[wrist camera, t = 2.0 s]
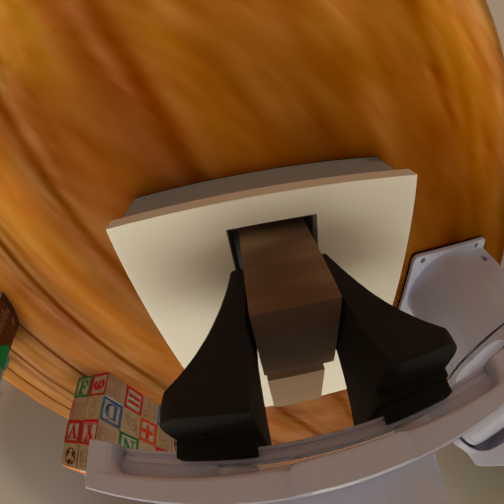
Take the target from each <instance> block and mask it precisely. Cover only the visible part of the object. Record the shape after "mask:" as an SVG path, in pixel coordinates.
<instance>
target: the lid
mask: <svg viewBox="0 0 504 504" xmlns="http://www.w3.org/2000/svg"><path fill="white" fill-rule="evenodd" d="M416 184H417V174H416V173H414V172H413V171H411V170H410V169H400V170H388V171H378V172H368V173H359V174H350V175H342V176H334V177H326V178H319V179H312V180H305V181H298V182H291V183H285V184H279V185H273V186H267V187H261V188H255V189H250V190H244V191H239V192H234V193H229V194H224V195H219V196H214V197H209V198H204V199H199V200H195V201H190V202H186V203H181V204H177V205H172V206H168V207H164V208H160V209H156V210H151V211H147V212H143V213H139V214H136V215H132V216H128V217H124V218H120V219H117V220H113V221H111V222H110V224H109V225H108V227H107V228H106V231H107V234H108V236H109V238H110V240H111V242H112V244H113V247H114V249H115V251H116V253H117V255H118V257H119V259H120V261H121V263H122V265H123V267H124V269H125V271H126V273H127V275H128V277H129V278H130V280H131V282H132V284H133V286H134V288H135V290H136V291H137V293H138V295H139V297H140V299H141V300H142V302H143V304H144V306H145V307H146V309H147V311H148V313H149V314H150V316H151V318H152V319H153V321H154V323H155V324H156V326H157V328H158V329H159V331H160V333H161V334H162V336H163V337H164V339H165V340H166V342H167V344H168V345H169V347H170V348H171V350H172V351H173V353H174V354H175V356H176V357H177V359H178V360H179V362H180V363H181V365H182V366H183V368H184V369H185V368H186V367H187V365H188V364H189V363H190V362H191V360H192V359H193V358H194V356H195V355H196V353H197V352H198V350H199V348H200V347H201V345H202V344H203V342H204V340H205V339H206V337H207V335H208V333H209V331H210V329H211V327H212V325H213V323H214V321H215V319H216V317H217V314H218V312H219V310H220V307H221V304H222V302H223V299H224V296H225V293H226V290H227V286H228V282H229V278H230V273H231V272H232V271H235V270H237V267H236V263H235V259H234V255H233V251H232V246H231V242H230V238H229V234H228V230H229V229H235V228H240V227H245V226H251V225H256V224H262V223H267V222H273V221H278V220H284V219H290V218H295V217H301V216H307V215H312V218H313V238H314V240H315V242H316V244H317V246H318V248H319V250H320V252H321V254H324V253H325V254H327V255H328V256H329V257H330V258H331V259H332V260H333V261H334V262H335V263H337V264H338V265H339V266H340V267H341V268H342V269H343V270H344V271H345V272H347V273H348V274H349V275H350V276H351V277H353V278H354V279H355V280H356V281H357V282H359V283H360V284H361V285H362V286H364V287H365V288H366V289H368V290H369V291H370V292H372V293H373V294H374V295H376V296H378V297H379V298H381V299H382V300H384V301H385V302H387V303H389V304H390V305H393V302H394V298H395V294H396V291H397V287H398V283H399V279H400V275H401V271H402V267H403V262H404V258H405V253H406V248H407V243H408V238H409V233H410V227H411V221H412V215H413V208H414V201H415V193H416ZM257 350H258V349H257ZM258 365H259V373H260V380H261V386H262V392H263V398H264V404H265V407H267V406H273V405H274V407H279V406H285V405H290V404H295V403H300V402H304V401H309V400H313V399H318V398H321V395H325V394H329V393H333V392H337V391H340V390H344V389H347V387H346V383H345V379H344V375H343V371H342V368H341V364H340V361H339V357H338V354H337V351H335V357H334V361H331V362H327V363H323V364H319V365H315V366H311V367H306V368H302V369H297V370H292V371H287V372H282V373H277V374H271V375H265V376H264V372H263V368H262V365H261V361H260V357H259V353H258Z"/></svg>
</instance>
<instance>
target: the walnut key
mask: <svg viewBox="0 0 504 504" xmlns="http://www.w3.org/2000/svg"><path fill="white" fill-rule="evenodd" d="M238 229H239V238H240V247H241V255H242V263H243V272H244V280H245V288H246V296H247V304H248V312H249V318H250V322H251V326H252V330H253V334H254V338H255V341H256V345H257V349H258V353H259V357H260V361H261V365H262V368H263V372H264V376H265V375H271V374H277V373H282V372H287V371H292V370H297V369H302V368H306V367H311V366H315V365H319V364H323V363H327V362H331V361H334V357H335V351H336V344H337V337H338V330H339V322H340V314H341V305H342V295H341V293H340V291H339V289H338V286H337V284H336V282H335V280H334V278H333V276H332V274H331V272H330V270H329V268H328V266H327V264H326V262H325V260H324V258H323V256H322V254H321V252H320V250H319V248H318V246H317V244H316V242H315V240H314V238H313V237H312V235H311V233H310V231H309V229H308V227H307V225H306V223H305V221H304V220H303V218H302V216H301V217H295V218H290V219H284V220H278V221H273V222H267V223H262V224H256V225H251V226H245V227H240V228H238Z"/></svg>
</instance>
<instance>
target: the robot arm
mask: <svg viewBox="0 0 504 504" xmlns="http://www.w3.org/2000/svg"><path fill="white" fill-rule="evenodd" d="M484 243H485V239H484V238H483V237H480V238H476V239H472V240H469V241H465V242H462V243H458V244H454V245H451V246H447V247H443V248H439V249H435V250H432V251H428V252H424V253H420V254H416V255H415V256H414V257H413V258H412V260H411V264H410V268H409V272H408V276H407V280H406V283H405V287H404V290H403V294H402V297H401V301H400V304H399V307H398V308H396V307H394V306H392V305H390V304H389V303H387V302H385V301H384V300H382V299H381V298H379V297H378V296H376V295H374V294H373V293H372V292H370V291H369V290H368V289H366V288H365V287H364V286H362V285H361V284H360V283H359V282H357V281H356V280H355V279H354V278H353V277H351V276H350V275H349V274H348V273H347V272H345V271H344V270H343V269H342V268H341V267H340V266H339V265H338V264H337V263H335V262H334V261H333V260H332V259H331V258H330V257H329V256H328V255H327V254H325V253H324V254H322V256H323V258H324V260H325V262H326V264H327V266H328V268H329V270H330V272H331V274H332V276H333V278H334V280H335V282H336V284H337V286H338V289H339V291H340V293H341V295H342V305H341V314H340V322H339V330H338V337H337V344H336V351H337V354H338V357H339V361H340V364H341V368H342V371H343V375H344V379H345V383H346V387H347V392H348V396H349V401H350V405H351V411H352V416H353V421H354V426H353V427H349V428H346V429H343V430H339V431H335V432H332V433H328V434H324V435H320V436H316V437H311V438H307V439H302V440H297V441H292V442H287V443H281V444H275V445H272V444H271V439H270V433H269V428H268V422H267V416H266V410H265V404H264V398H263V392H262V386H261V380H260V373H259V365H258V350H257V345H256V341H255V338H254V334H253V330H252V326H251V322H250V318H249V312H248V304H247V296H246V288H245V280H244V272H243V269H240V270H235V271H232V272H231V273H230V278H229V282H228V286H227V290H226V293H225V296H224V299H223V302H222V304H221V307H220V310H219V312H218V314H217V317H216V319H215V321H214V323H213V325H212V327H211V329H210V331H209V333H208V335H207V337H206V339H205V340H204V342H203V344H202V345H201V347H200V348H199V350H198V352H197V353H196V355H195V356H194V358H193V359H192V360H191V362H190V363H189V364H188V365H187V367H186V368H185V369H184V371H183V372H182V373H181V374H180V376H179V377H178V378H177V379H176V380H175V381H174V382H173V383H172V384H171V386H170V387H169V388H168V389H167V390H166V391H165V392H164V395H163V399H162V403H161V408H160V423H159V425H160V428H161V429H162V430H163V431H164V432H165V433H166V434H168V435H169V436H170V437H172V438H173V439H175V440H176V441H177V451H153V450H139V449H129V448H124V447H123V446H121V445H119V444H117V443H114V442H110V441H103V440H97V439H90V441H89V448H88V457H87V466H86V478H85V487H86V488H87V489H91V490H94V491H98V492H101V493H105V494H109V495H113V496H118V497H122V498H127V499H132V500H138V501H144V502H150V503H158V504H449V500H448V496H447V493H446V489H445V486H444V482H443V479H442V476H441V472H440V469H439V466H438V463H437V460H436V457H435V454H434V452H436V451H438V450H440V449H441V448H443V447H445V446H447V445H448V444H450V443H452V442H453V443H454V444H455V445H456V446H458V447H459V448H461V449H463V450H464V451H465V452H466V453H467V454H468V455H469V456H470V457H471V458H472V460H473V461H474V463H475V464H476V465H477V466H504V269H503V268H502V267H501V266H500V265H499V264H498V263H497V262H496V261H495V259H494V258H493V257H492V256H491V255H490V254H489V253H488V252H487V251H486V250H485V249H484V248H483V246H484ZM447 376H448V378H449V380H448V381H447V379H446V377H447ZM396 429H397V430H396ZM394 430H395V432H394V433H392V434H389V435H386V436H384V437H381V438H378V439H375V440H373V441H370V442H367V443H364V444H361V445H358V446H354V447H351V448H348V449H345V450H341V451H338V452H334V453H330V454H326V455H322V456H318V457H315V458H311V459H307V460H304V461H301V462H298V463H294V464H290V465H285V466H281V467H275V468H270V469H265V470H259V467H257V466H254V465H261V464H269V463H277V462H282V461H289V460H294V459H299V458H304V457H309V456H313V455H318V454H322V453H326V452H330V451H334V450H337V449H341V448H344V447H348V446H351V445H354V444H358V443H361V442H364V441H367V440H370V439H372V438H375V437H378V436H381V435H383V434H386V433H389V432H391V431H394Z"/></svg>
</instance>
